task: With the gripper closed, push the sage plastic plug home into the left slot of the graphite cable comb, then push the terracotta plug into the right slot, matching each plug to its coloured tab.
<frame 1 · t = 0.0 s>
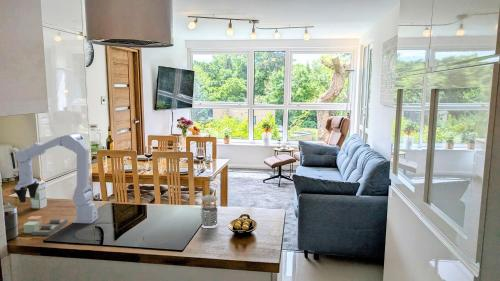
hand: (27, 199, 176), 10 cm above the counter, fingers open, 7 cm apart
sage plug: (32, 231, 163), on the counter
french press: (208, 226, 173), on the counter
cable comb: (49, 228, 166), on the counter
syrup box: (39, 207, 195), on the counter
terracotta plug: (35, 225, 170), on the counter
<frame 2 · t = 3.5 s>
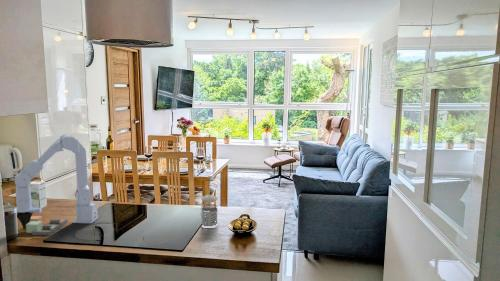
hand: (25, 227, 163), 2 cm above the counter, fingers closed
sage plug: (34, 231, 163), on the counter, touching gripper
everything else where it was.
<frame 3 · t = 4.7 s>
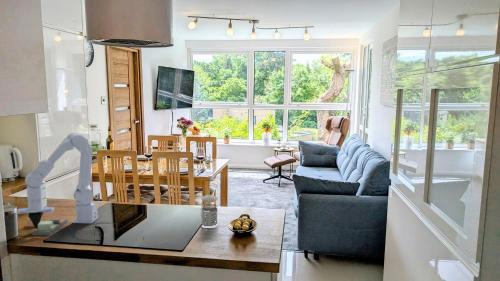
hand: (36, 227, 162), 2 cm above the counter, fingers closed
sage plug: (45, 230, 163), resting in cable comb, touching gripper
everything else where it was.
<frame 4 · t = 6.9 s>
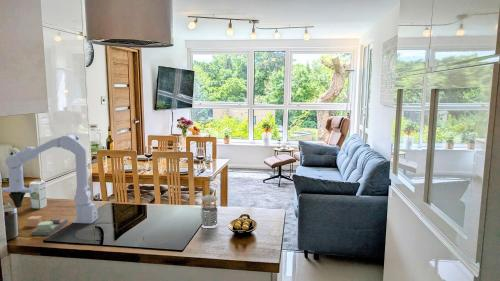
hand: (18, 207, 169), 9 cm above the counter, fingers closed
sage plug: (45, 231, 163), resting in cable comb
everything else where it was.
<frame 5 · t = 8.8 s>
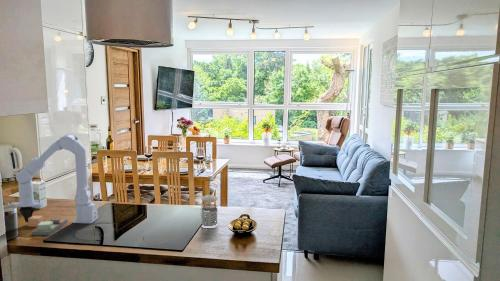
hand: (28, 221, 170), 2 cm above the counter, fingers closed
terracotta plug: (36, 225, 170), on the counter, touching gripper
everything else where it was.
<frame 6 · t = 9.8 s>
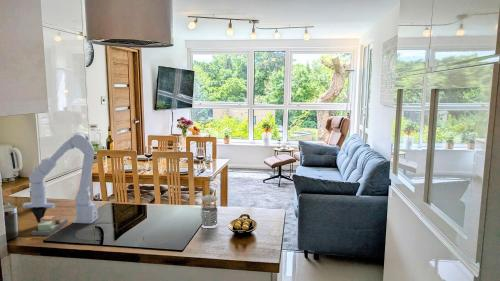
hand: (40, 221, 170), 2 cm above the counter, fingers closed
terracotta plug: (48, 225, 170), on the counter, touching gripper
everything else where it was.
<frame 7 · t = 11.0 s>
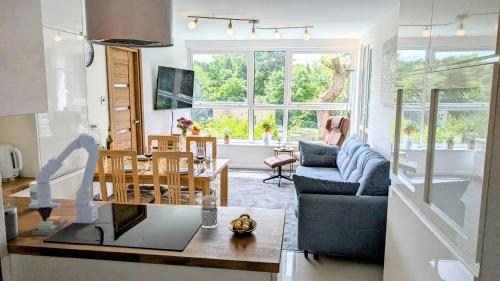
hand: (46, 222, 170), 2 cm above the counter, fingers closed
terracotta plug: (54, 225, 170), on the counter, touching gripper
everything else where it was.
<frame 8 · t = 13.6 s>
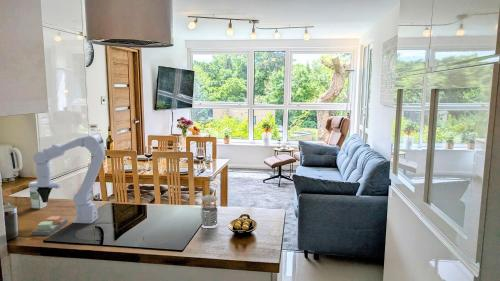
hand: (45, 201, 174), 10 cm above the counter, fingers closed
terracotta plug: (54, 225, 170), on the counter
everything else where it was.
at the end: sage plug 0.5 cm from the target spot, resting in cable comb; terracotta plug 0.3 cm from the target spot, on the counter; terracotta plug tilted 0° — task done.
